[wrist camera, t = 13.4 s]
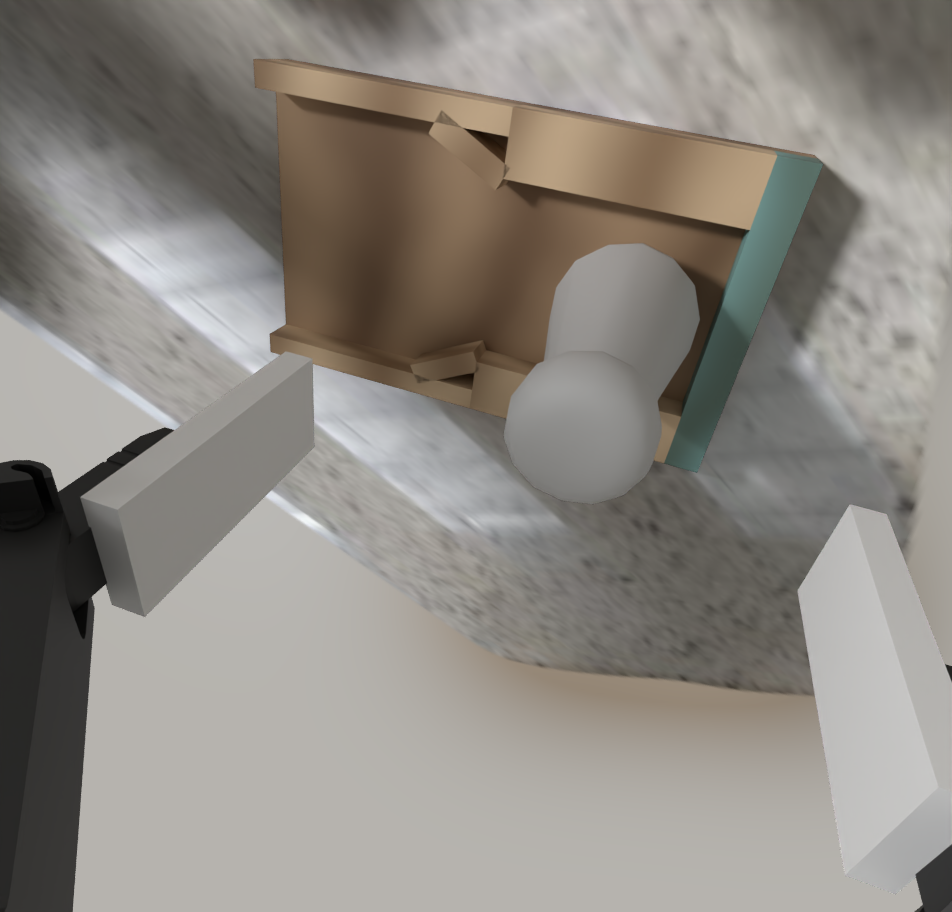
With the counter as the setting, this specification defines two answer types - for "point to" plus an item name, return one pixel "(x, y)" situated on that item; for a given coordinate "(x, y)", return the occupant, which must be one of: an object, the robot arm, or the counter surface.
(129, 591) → the robot arm
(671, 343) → the salt shaker
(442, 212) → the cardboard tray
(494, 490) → the counter surface
